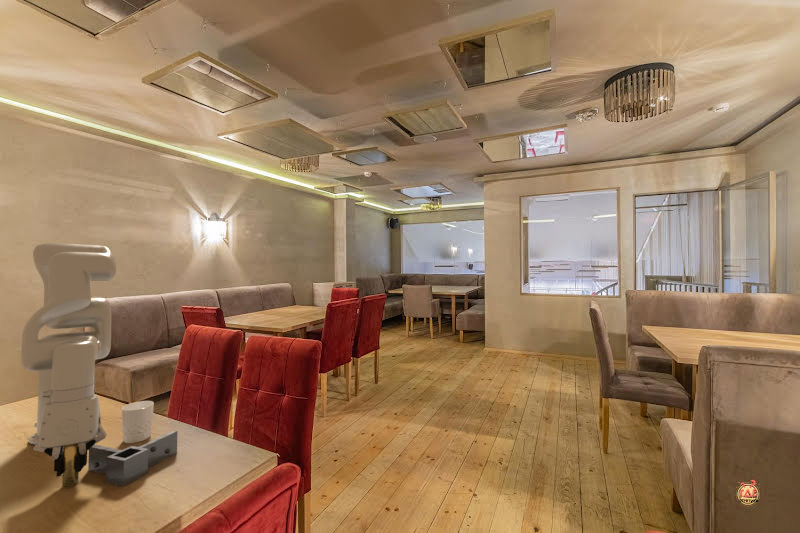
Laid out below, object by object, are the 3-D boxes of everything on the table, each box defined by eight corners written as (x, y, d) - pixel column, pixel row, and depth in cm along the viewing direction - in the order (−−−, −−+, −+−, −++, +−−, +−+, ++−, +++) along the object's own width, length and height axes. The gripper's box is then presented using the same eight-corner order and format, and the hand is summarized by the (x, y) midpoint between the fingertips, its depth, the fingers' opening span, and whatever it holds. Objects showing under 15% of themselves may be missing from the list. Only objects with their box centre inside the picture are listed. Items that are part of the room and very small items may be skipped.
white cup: (135, 445, 101) (136, 411, 101) (113, 443, 102) (114, 409, 103) (159, 433, 109) (160, 401, 109) (138, 431, 110) (139, 399, 110)
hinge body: (77, 475, 86) (78, 450, 86) (141, 445, 101) (142, 425, 101) (123, 486, 81) (123, 460, 81) (183, 453, 96) (183, 432, 96)
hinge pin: (54, 487, 81) (56, 431, 81) (74, 478, 84) (76, 424, 85) (65, 490, 79) (67, 433, 80) (85, 481, 83) (87, 426, 84)
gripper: (17, 404, 75) (14, 489, 75) (112, 392, 83) (110, 470, 82) (33, 393, 82) (31, 472, 81) (120, 384, 90) (118, 455, 89)
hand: (70, 470), depth 82 cm, fingers closed on hinge pin, 2 cm apart
